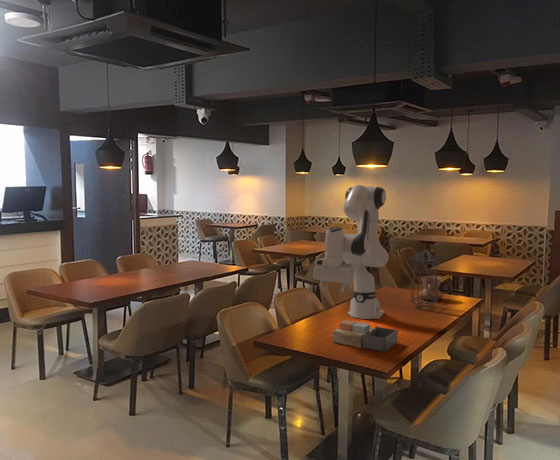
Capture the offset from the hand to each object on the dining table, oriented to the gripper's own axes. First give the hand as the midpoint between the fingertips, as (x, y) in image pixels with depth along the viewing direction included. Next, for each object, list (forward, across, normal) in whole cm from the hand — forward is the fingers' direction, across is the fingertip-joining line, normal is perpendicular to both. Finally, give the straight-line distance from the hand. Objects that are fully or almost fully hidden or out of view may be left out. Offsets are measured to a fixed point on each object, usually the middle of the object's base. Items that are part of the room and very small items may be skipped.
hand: (333, 290), depth 232 cm
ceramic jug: (+21, -16, -108) cm, 111 cm away
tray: (+22, -24, 0) cm, 32 cm away
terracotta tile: (+17, -8, 0) cm, 19 cm away
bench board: (+22, -11, 0) cm, 25 cm away
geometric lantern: (+21, -19, -84) cm, 89 cm away
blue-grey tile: (+17, -15, 0) cm, 22 cm away
